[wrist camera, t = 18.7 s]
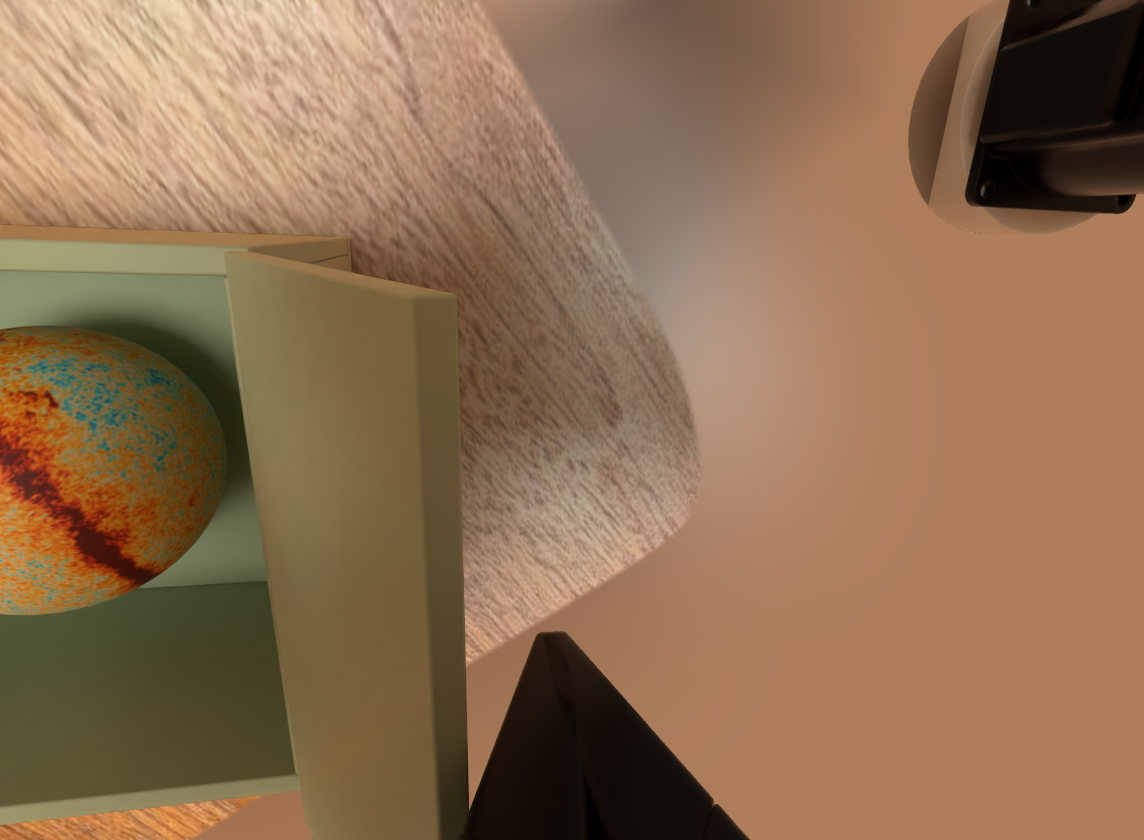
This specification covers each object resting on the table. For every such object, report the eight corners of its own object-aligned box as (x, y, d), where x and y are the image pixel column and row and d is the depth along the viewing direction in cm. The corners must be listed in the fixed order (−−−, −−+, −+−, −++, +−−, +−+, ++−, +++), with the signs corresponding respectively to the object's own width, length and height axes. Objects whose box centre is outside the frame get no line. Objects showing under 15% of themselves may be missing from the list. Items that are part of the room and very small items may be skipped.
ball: (78, 549, 19) (-136, 724, 12) (-47, 339, 16) (-396, 416, 10) (296, 493, 19) (206, 630, 13) (207, 282, 17) (39, 318, 10)
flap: (223, 250, 9) (252, 251, 9) (305, 821, 13) (323, 809, 13) (412, 295, 4) (460, 293, 5) (453, 1163, 8) (477, 1136, 8)
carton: (349, 237, 18) (248, 246, 10) (376, 578, 21) (320, 789, 13) (-165, 218, 15) (-844, 211, 7) (-34, 602, 19) (-394, 871, 11)
